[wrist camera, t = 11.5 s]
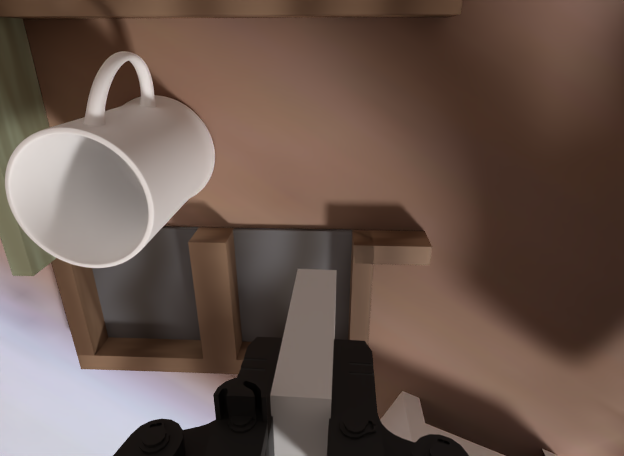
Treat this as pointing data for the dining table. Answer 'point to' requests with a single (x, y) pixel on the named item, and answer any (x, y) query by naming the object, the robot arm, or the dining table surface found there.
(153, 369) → the wooden compartment tray
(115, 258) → the mug
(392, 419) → the white block stand
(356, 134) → the dining table surface
